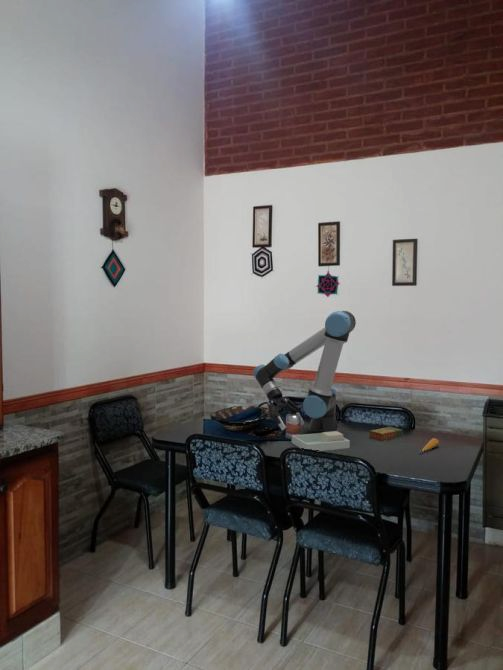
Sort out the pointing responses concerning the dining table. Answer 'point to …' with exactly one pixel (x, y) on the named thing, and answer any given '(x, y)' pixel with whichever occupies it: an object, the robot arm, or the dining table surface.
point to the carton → (385, 433)
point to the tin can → (292, 425)
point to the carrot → (431, 444)
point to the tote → (318, 442)
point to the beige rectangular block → (332, 436)
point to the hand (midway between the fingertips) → (293, 426)
